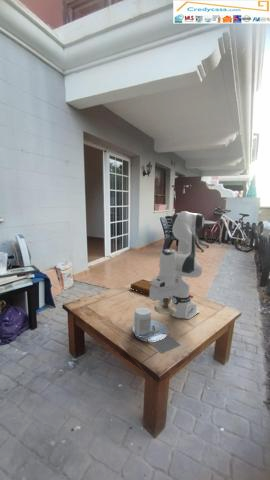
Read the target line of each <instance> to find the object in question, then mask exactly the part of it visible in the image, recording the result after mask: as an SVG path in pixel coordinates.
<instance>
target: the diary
mask: <svg viewBox="0 0 270 480" xmlns="http://www.w3.org/2000/svg"><path fill="white" fill-rule="evenodd" d="M151 285H152V284H151V281H150V280H147V279H140V280H137V281H135V282H133V283H131V284H130V289H131V288H132V289H134V290H137V291H139V292H142V293H141V294H143V293H144V295H146V294H147V295H146V296H149V292H150V287H151ZM139 292H138V293H139Z"/></svg>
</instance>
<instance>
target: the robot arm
mask: <svg viewBox="0 0 270 480" xmlns="http://www.w3.org/2000/svg"><path fill="white" fill-rule="evenodd" d="M170 221H171V226H172V235H173V236H174V238H175V239H177V240H178V243H177V244H178V245H177V252H178V253H177V252H176V250H175V249H172V248H165V249H163V250H162V251H160V256H159V261H158V267H159V271H158V275H157V276H156V277H154V278H153V279H151V284H152V285H151V287H150V292H149V295H148V296H149V299H150V300H152V301H153V302H156V301H158V302H160V305H161V306H164V302H163V298H169V304H170V303H172V304H174V305H175V306H176V307H177V310H176V312H175V313H174V314H170V316H172V317H174V318H177V319H185V320H190V319H192V318H194V317H195V316H197V315H198V314H200V313H199V312H200V310H199V309H198V308H197V304H196V302H194V301H193V300H192V299H193V298H194V295H193V294H190V283H189V282H188V281H187V280H185V279H184V278H183V277H187V278H190V279H191V278H194V279H196V278H197V279H198V278H199V277H201V276H202V274H203V267H202V265H201V263H200V262H199V261H198V260H197V258H196V232H199V231H200V230H201V229H203V227H204V225H205V221H206V220H205V216H204V214H201V213H194V212H189V211H186V210H184V211H183V210H182V211H180V212H175V213H174V214H172V216H171V219H170ZM197 313H198V314H197ZM196 314H197V315H196Z"/></svg>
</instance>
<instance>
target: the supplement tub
mask: <svg viewBox="0 0 270 480" xmlns="http://www.w3.org/2000/svg"><path fill="white" fill-rule="evenodd" d="M151 312H152V311H151V309H150V308H147V307H137V308H136V309H135V310H134V326H133V327H134V330H133V333H135V334H136V335H137V336H141V337H146V338H148V337H150V335H151V328H152V327H151V326H152V325H151V324H152V323H151V321H152V313H151ZM135 334H134V335H135ZM136 335H135V336H136ZM137 336H136V337H137ZM147 336H148V337H147Z"/></svg>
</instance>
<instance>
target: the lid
mask: <svg viewBox="0 0 270 480" xmlns="http://www.w3.org/2000/svg"><path fill="white" fill-rule="evenodd" d="M162 301H163V302H164V306H161V305H160V301H158V302H155V303H154V306H153V309H154V311H155V312H156V313H158V314H161V315H164V316H165V315H166V316H167V315H169V316H171V314H174V313H175V312H176V310H177V307H176V306H175V305H174V304H172V303H170V304H169V297H167V298H163V300H162Z"/></svg>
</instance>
